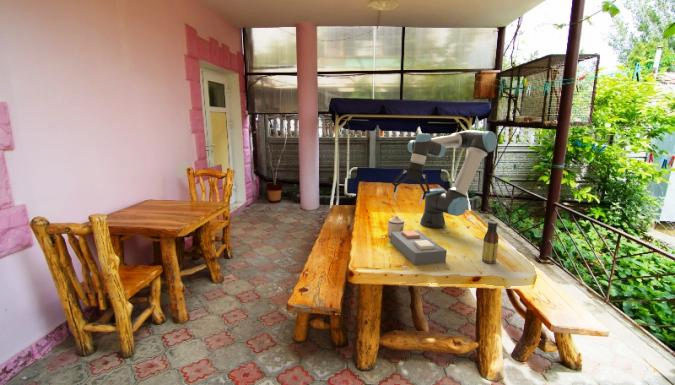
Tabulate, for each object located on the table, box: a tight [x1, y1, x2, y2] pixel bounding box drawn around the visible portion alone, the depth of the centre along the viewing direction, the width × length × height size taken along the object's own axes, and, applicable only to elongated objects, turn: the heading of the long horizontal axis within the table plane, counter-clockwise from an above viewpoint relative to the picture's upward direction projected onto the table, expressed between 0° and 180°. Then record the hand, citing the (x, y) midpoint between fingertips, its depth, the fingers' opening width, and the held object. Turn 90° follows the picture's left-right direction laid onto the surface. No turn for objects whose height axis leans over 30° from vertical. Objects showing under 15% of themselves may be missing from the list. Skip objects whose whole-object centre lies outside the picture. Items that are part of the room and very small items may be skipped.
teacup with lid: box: [387, 215, 405, 238], centre depth 184 cm, size 12×9×12 cm
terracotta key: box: [402, 229, 420, 239], centre depth 167 cm, size 7×7×4 cm
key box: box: [390, 229, 447, 266], centre depth 161 cm, size 16×28×6 cm, turn 14°
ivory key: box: [414, 240, 434, 250], centre depth 154 cm, size 7×7×4 cm
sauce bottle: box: [481, 220, 499, 265], centre depth 150 cm, size 6×6×20 cm
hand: (407, 201), depth 171 cm, fingers open, 13 cm apart
